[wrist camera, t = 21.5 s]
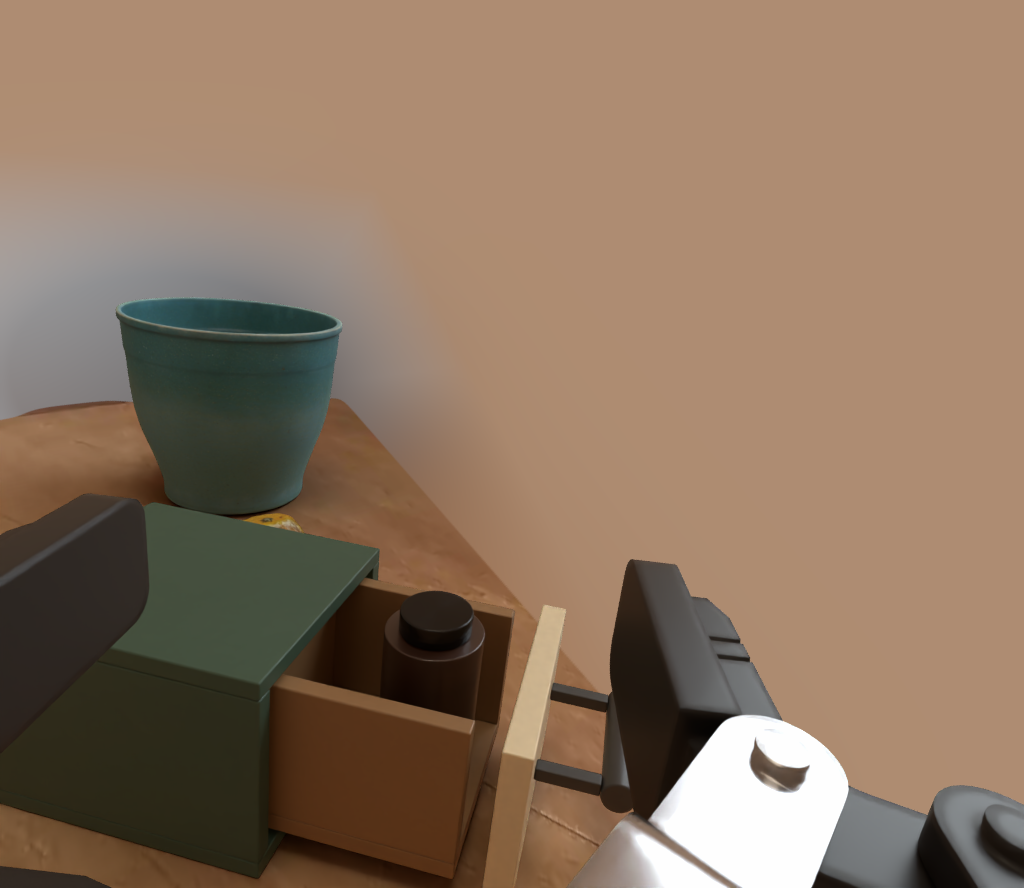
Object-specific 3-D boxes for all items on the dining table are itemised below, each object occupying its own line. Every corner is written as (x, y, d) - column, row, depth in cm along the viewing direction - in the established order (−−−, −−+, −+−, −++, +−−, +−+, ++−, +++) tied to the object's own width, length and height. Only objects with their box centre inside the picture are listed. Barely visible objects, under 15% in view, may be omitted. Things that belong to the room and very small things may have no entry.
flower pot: (354, 524, 58) (364, 336, 53) (121, 545, 50) (106, 325, 45) (315, 456, 73) (320, 305, 68) (132, 463, 65) (122, 292, 60)
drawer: (620, 751, 34) (647, 626, 32) (612, 949, 25) (650, 789, 22) (330, 681, 37) (335, 560, 35) (218, 836, 27) (215, 681, 25)
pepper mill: (477, 743, 32) (497, 594, 30) (453, 815, 28) (474, 649, 26) (394, 722, 33) (406, 575, 30) (358, 790, 29) (369, 626, 26)
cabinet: (370, 697, 37) (380, 548, 34) (258, 879, 26) (259, 684, 24) (160, 645, 39) (152, 501, 36) (-25, 796, 28) (-57, 606, 26)
